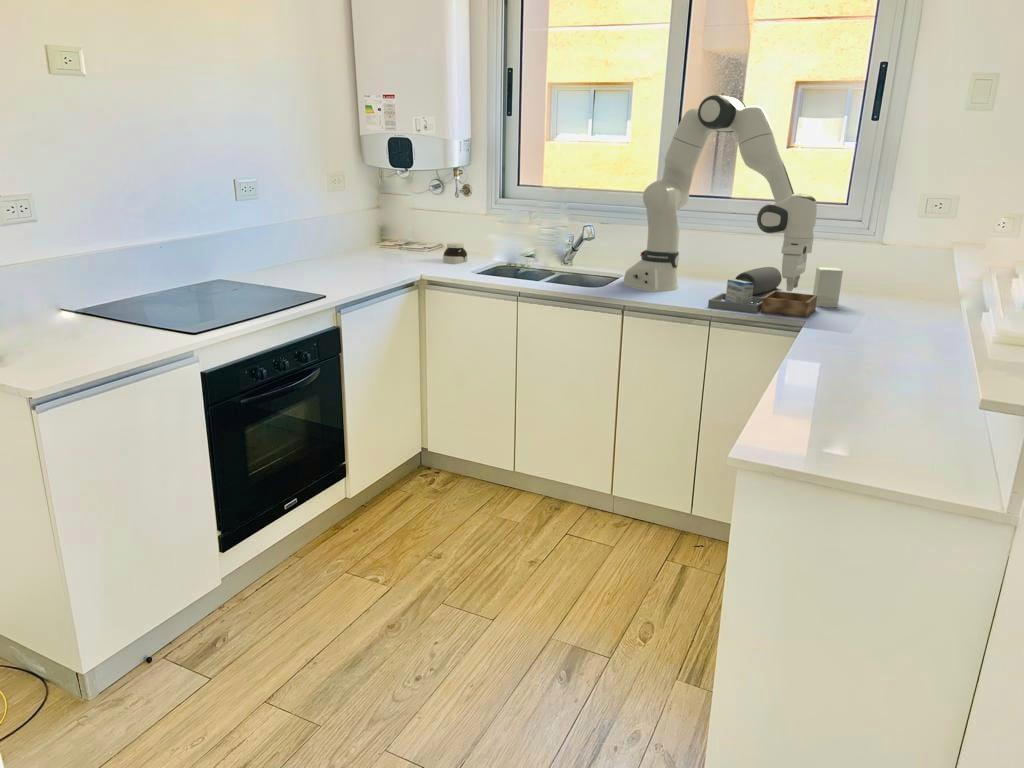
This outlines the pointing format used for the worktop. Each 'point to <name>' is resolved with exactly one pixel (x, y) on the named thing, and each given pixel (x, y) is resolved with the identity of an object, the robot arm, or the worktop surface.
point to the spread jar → (455, 254)
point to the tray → (735, 304)
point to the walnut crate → (789, 304)
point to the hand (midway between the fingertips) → (791, 289)
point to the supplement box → (827, 286)
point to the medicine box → (739, 291)
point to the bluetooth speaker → (762, 279)
